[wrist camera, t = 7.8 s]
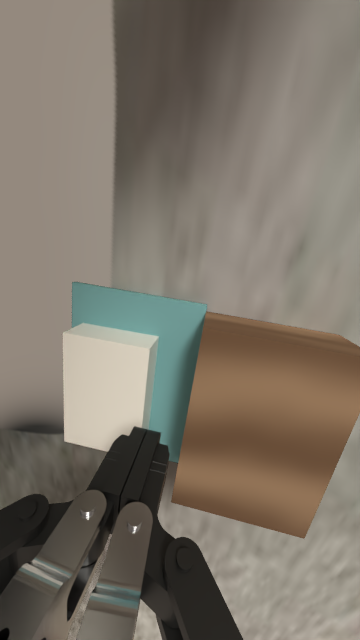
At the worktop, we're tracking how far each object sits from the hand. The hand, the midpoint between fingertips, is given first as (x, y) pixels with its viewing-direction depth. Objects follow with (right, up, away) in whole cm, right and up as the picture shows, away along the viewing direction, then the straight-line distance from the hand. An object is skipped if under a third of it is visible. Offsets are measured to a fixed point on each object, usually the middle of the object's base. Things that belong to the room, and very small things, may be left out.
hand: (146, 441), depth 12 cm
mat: (-2, +2, +6) cm, 7 cm away
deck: (+7, 0, +5) cm, 9 cm away
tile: (-4, +1, +4) cm, 5 cm away
